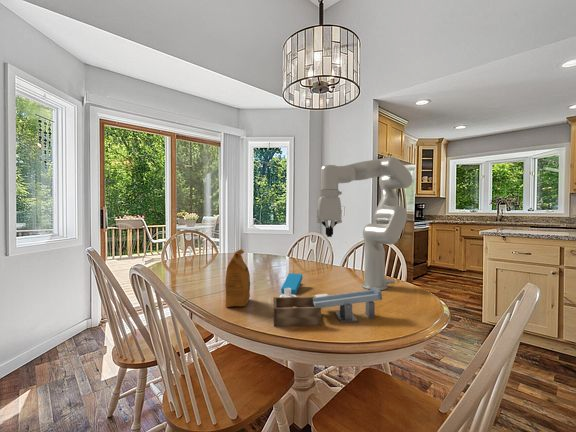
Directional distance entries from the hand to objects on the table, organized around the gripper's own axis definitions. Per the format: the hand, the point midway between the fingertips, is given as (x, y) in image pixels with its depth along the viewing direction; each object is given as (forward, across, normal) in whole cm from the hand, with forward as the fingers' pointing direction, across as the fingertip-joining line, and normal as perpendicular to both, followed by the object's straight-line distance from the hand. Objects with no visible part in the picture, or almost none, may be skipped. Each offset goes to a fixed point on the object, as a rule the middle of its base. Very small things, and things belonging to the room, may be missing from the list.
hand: (329, 236), depth 125 cm
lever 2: (+21, -2, +18) cm, 28 cm away
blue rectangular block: (+27, +14, -16) cm, 35 cm away
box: (+27, +16, +22) cm, 39 cm away
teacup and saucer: (+28, +21, -2) cm, 35 cm away
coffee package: (+27, +39, +4) cm, 48 cm away
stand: (+27, -5, +21) cm, 35 cm away
